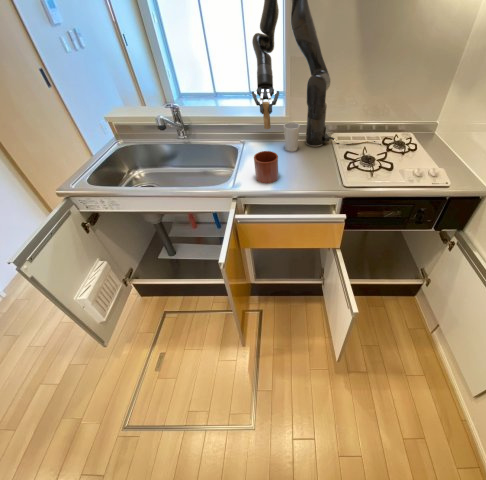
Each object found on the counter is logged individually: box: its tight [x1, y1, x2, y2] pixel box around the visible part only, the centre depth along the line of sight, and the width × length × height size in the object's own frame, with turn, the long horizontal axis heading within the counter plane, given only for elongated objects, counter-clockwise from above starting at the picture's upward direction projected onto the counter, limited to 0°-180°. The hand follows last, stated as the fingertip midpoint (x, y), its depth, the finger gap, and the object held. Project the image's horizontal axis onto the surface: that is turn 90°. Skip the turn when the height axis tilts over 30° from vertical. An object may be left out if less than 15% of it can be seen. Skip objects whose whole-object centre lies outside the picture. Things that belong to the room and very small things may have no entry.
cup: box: [283, 121, 301, 153], centre depth 134 cm, size 8×8×12 cm
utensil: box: [262, 101, 271, 130], centre depth 131 cm, size 3×3×12 cm
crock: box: [253, 150, 280, 184], centre depth 117 cm, size 10×10×10 cm
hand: (266, 113), depth 129 cm, fingers closed on utensil, 3 cm apart
